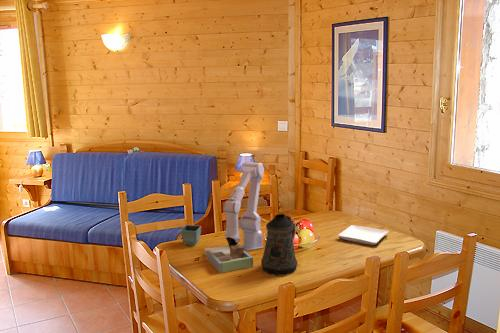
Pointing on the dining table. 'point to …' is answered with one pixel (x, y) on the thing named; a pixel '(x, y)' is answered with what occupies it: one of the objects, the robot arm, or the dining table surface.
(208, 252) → the tray
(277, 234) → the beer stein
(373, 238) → the salad plate
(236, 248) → the walnut block
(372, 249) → the dining table surface
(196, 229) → the flower pot
